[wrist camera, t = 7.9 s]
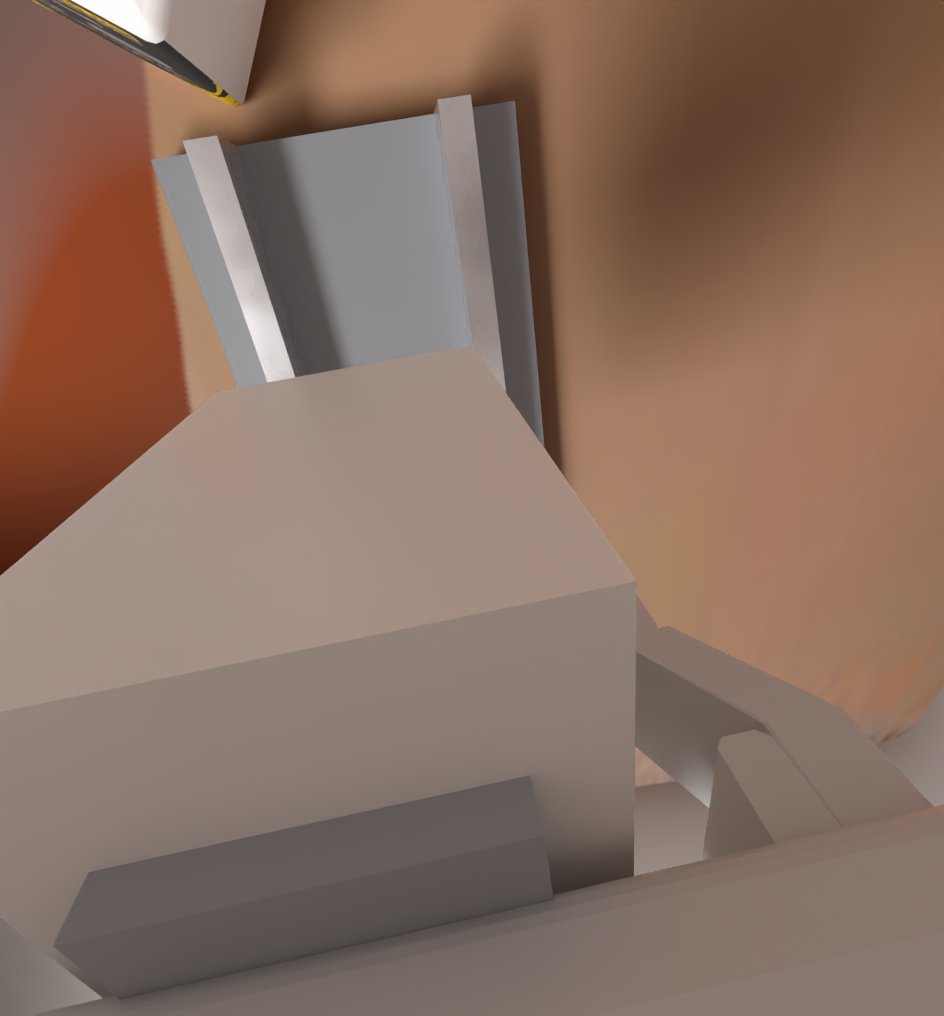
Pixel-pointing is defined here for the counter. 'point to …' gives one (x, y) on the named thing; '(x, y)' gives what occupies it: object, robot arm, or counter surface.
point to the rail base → (369, 247)
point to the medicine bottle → (179, 37)
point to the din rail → (254, 265)
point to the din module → (313, 684)
